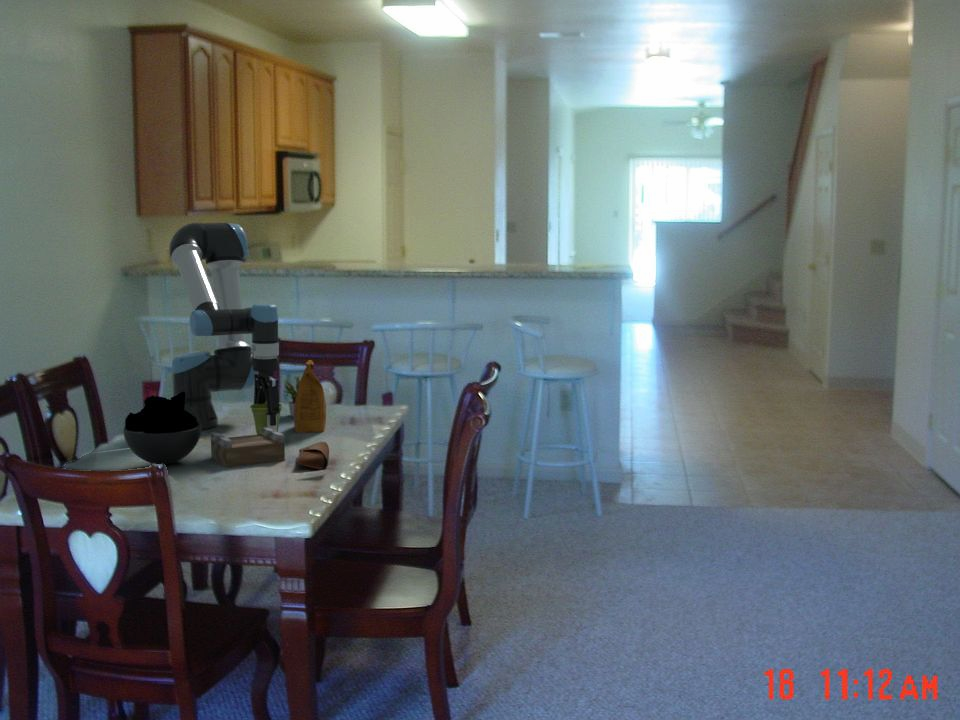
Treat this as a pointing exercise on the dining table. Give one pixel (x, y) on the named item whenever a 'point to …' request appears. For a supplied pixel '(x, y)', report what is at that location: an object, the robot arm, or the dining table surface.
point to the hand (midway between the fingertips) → (267, 433)
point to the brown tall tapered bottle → (309, 403)
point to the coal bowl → (162, 430)
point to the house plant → (292, 393)
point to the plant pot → (262, 416)
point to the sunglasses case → (314, 456)
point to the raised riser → (248, 448)
